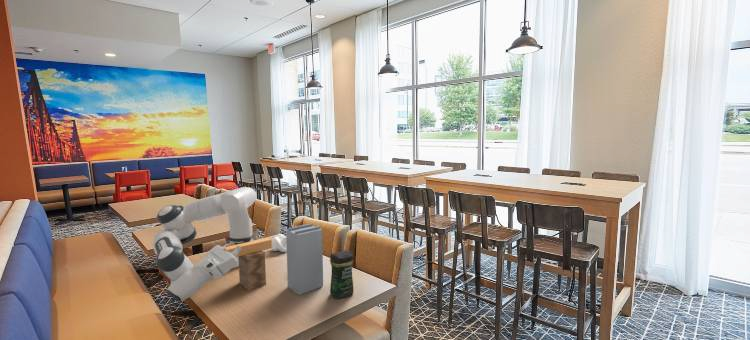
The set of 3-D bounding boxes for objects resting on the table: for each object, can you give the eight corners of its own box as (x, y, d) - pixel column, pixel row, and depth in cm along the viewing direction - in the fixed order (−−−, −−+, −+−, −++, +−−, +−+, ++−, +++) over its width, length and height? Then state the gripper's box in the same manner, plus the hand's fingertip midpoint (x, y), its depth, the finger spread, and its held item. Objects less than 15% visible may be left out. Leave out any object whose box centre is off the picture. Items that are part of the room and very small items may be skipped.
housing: (299, 294, 146) (297, 232, 143) (287, 286, 154) (286, 227, 151) (323, 286, 155) (322, 227, 152) (311, 279, 162) (309, 222, 159)
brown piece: (248, 289, 151) (247, 256, 149) (239, 282, 158) (238, 250, 157) (266, 284, 156) (264, 252, 155) (256, 277, 164) (255, 246, 162)
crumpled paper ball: (265, 252, 198) (265, 236, 197) (280, 245, 209) (279, 231, 208) (280, 255, 193) (280, 239, 192) (294, 248, 204) (294, 234, 203)
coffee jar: (337, 301, 141) (336, 257, 139) (327, 293, 147) (326, 251, 145) (356, 294, 147) (356, 251, 145) (346, 287, 153) (346, 246, 151)
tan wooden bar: (227, 258, 147) (227, 249, 146) (224, 256, 150) (223, 247, 149) (271, 248, 160) (271, 239, 160) (267, 246, 163) (267, 237, 163)
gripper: (205, 265, 153) (232, 244, 160) (221, 280, 138) (250, 256, 145) (196, 255, 150) (224, 234, 157) (212, 269, 135) (242, 245, 142)
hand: (237, 245), depth 151 cm, fingers open, 6 cm apart
